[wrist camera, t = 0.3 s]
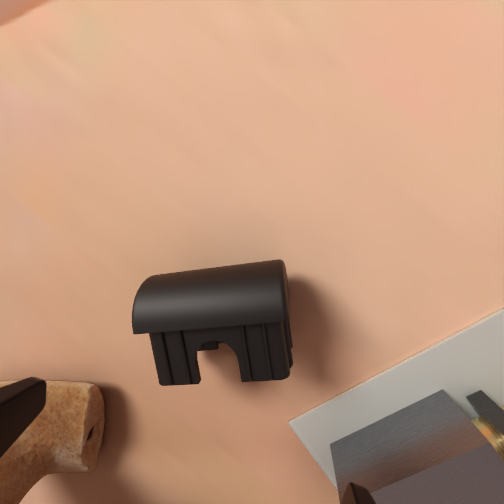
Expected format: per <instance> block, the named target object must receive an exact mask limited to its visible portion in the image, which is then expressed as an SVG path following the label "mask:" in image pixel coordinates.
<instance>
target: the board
mask: <svg viewBox="0 0 504 504" xmlns="http://www.w3.org/2000/svg"><path fill="white" fill-rule="evenodd" d="M442 389H443V390H444V391H445V392H446V393H447V394H448V396H449V397H450V398H451V399H452V400H453V401H454V402H455V403H456V405H457V406H458V407H459V408H460V409H461V410H462V411H463V412H464V414H465V415H466V416H467V417H468V418H469V419H470V420H472V419H474V418H476V417H479V415H478V414H477V412H476V411H475V410H474V408H473V407H472V405H471V404H470V403H469V401H468V400H467V398H466V396H468V395H471V394H473V393H475V392H477V391H479V390H482V391H483V392H484V393H485V394H486V395H487V396H488V397H489V398H491V399H492V400H493V401H494V402H495V403H496V404H497V405H498V406H499V407H501V406H503V405H504V308H503V309H501V310H499V311H497V312H495V313H494V314H492V315H490V316H488V317H486V318H484V319H482V320H480V321H478V322H476V323H475V324H473V325H471V326H469V327H467V328H465V329H463V330H461V331H459V332H457V333H456V334H454V335H452V336H450V337H448V338H446V339H444V340H442V341H440V342H438V343H437V344H435V345H433V346H431V347H429V348H427V349H425V350H423V351H421V352H420V353H418V354H416V355H414V356H412V357H410V358H408V359H406V360H404V361H402V362H401V363H399V364H397V365H395V366H393V367H391V368H389V369H387V370H385V371H383V372H382V373H380V374H378V375H376V376H374V377H372V378H370V379H368V380H366V381H365V382H363V383H361V384H359V385H357V386H355V387H353V388H351V389H349V390H347V391H346V392H344V393H342V394H340V395H338V396H336V397H334V398H332V399H330V400H328V401H327V402H325V403H323V404H321V405H319V406H317V407H315V408H313V409H311V410H310V411H308V412H306V413H304V414H302V415H300V416H298V417H296V418H294V419H292V420H291V421H289V425H290V427H291V428H292V429H293V431H294V432H295V433H296V435H297V436H298V437H299V439H300V440H301V442H302V443H303V444H304V446H305V447H306V448H307V450H308V451H309V452H310V454H311V455H312V457H313V458H314V459H315V461H316V462H317V463H318V465H319V466H320V467H321V469H322V470H323V472H324V473H325V474H326V476H327V477H328V478H329V480H330V481H331V482H332V484H333V485H334V487H335V488H336V489H337V491H338V488H337V483H336V477H335V471H334V466H333V460H332V455H331V449H330V444H331V443H333V442H335V441H337V440H339V439H341V438H343V437H345V436H347V435H349V434H352V433H354V432H356V431H358V430H360V429H362V428H364V427H366V426H368V425H370V424H372V423H374V422H376V421H378V420H380V419H382V418H384V417H386V416H388V415H391V414H393V413H395V412H397V411H399V410H401V409H403V408H405V407H407V406H409V405H411V404H413V403H415V402H417V401H419V400H421V399H423V398H425V397H427V396H430V395H432V394H434V393H436V392H438V391H440V390H442Z"/></svg>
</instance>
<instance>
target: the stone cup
mask: <svg viewBox="0 0 504 504" xmlns="http://www.w3.org/2000/svg"><path fill="white" fill-rule="evenodd" d="M17 381H20V380H1V381H0V387H3V386H6V385H9V384H12V383H15V382H17ZM45 381H46V383H47V392H46V404H45V407H44V409H43V410H42V411H41V413H40V414H39V415H38V416H37V417H36V418H35V420H34V421H33V422H32V423H31V424H30V425H29V426H28V428H27V429H26V430H25V431H24V432H23V433H22V434H21V436H20V437H19V438H18V439H17V440H16V441H15V442H14V443H13V445H12V446H11V447H10V448H9V449H8V450H7V451H6V453H5V454H4V455H3V456H2V457H1V458H0V504H19V503H20V501H21V500H22V499H23V497H24V496H25V495H26V494H27V492H28V491H29V490H30V489H31V488H32V487H33V485H35V484H36V483H37V482H38V481H39V480H40V479H41V478H43V477H44V476H46V475H47V474H54V473H64V472H82V473H90V472H91V471H93V470H94V468H95V467H96V464H97V460H98V453H99V449H100V446H101V443H102V435H103V431H104V424H105V418H104V413H105V411H104V406H105V405H104V401H103V396H102V394H101V392H100V389H99V388H98V387H97V386H96V385H95V384H91V383H85V382H74V381H57V380H45Z"/></svg>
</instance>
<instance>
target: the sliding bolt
mask: <svg viewBox="0 0 504 504" xmlns="http://www.w3.org/2000/svg"><path fill="white" fill-rule="evenodd" d="M466 398H467V400H468V401H469V403H470V404H471V405H472V407H473V408H474V410H475V411H476V412H477V414H478V415H479V417H476V418H474V419H472V420H471V421H472V423H473V424H474V425H475V426H476V427H477V428H478V429H479V430H480V432H481V433H482V434H483V435H484V436H485V437H486V438H487V439H488V441H489V442H490V443H491V444H492V446H493V447H494V449H495V450H496V451H497V453H498V454H499V456H500V457H501V459H502V460H503V461H504V405H503V406H501V407H499V406H498V405H497V404H496V403H495V402H494V401H493V400H492V399H491V398H489V397H488V396H487V395H486V394H485V393H484V392H483V391H482V390H479V391H477V392H475V393H473V394H471V395H468V396H466Z"/></svg>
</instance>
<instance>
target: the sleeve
mask: <svg viewBox="0 0 504 504" xmlns="http://www.w3.org/2000/svg"><path fill="white" fill-rule="evenodd" d="M330 449H331V455H332V460H333V466H334V471H335V477H336V483H337V488H338V494H339V499H340V503H341V500H342V497H343V495H344V492H345V490H346V487H347V485H348V483H349V482H354V483H357V484H360V485H363V486H365V487H366V488H367V489H368V491H369V492H370V494H371V495H372V497H373V499H374V500H375V502H376V504H504V461H503V460H502V459H501V457H500V456H499V454H498V453H497V451H496V450H495V449H494V447H493V446H492V444H491V443H490V442H489V441H488V439H487V438H486V437H485V436H484V435H483V434H482V433H481V432H480V430H479V429H478V428H477V427H476V426H475V425H474V424H473V423H472V421H471V420H470V419H469V418H468V417H467V416H466V415H465V414H464V412H463V411H462V410H461V409H460V408H459V407H458V406H457V405H456V403H455V402H454V401H453V400H452V399H451V398H450V397H449V396H448V394H447V393H446V392H445V391H444V390H443V389H442V390H440V391H438V392H436V393H434V394H432V395H430V396H427V397H425V398H423V399H421V400H419V401H417V402H415V403H413V404H411V405H409V406H407V407H405V408H403V409H401V410H399V411H397V412H395V413H393V414H391V415H388V416H386V417H384V418H382V419H380V420H378V421H376V422H374V423H372V424H370V425H368V426H366V427H364V428H362V429H360V430H358V431H356V432H354V433H352V434H349V435H347V436H345V437H343V438H341V439H339V440H337V441H335V442H333V443H331V444H330Z"/></svg>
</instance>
